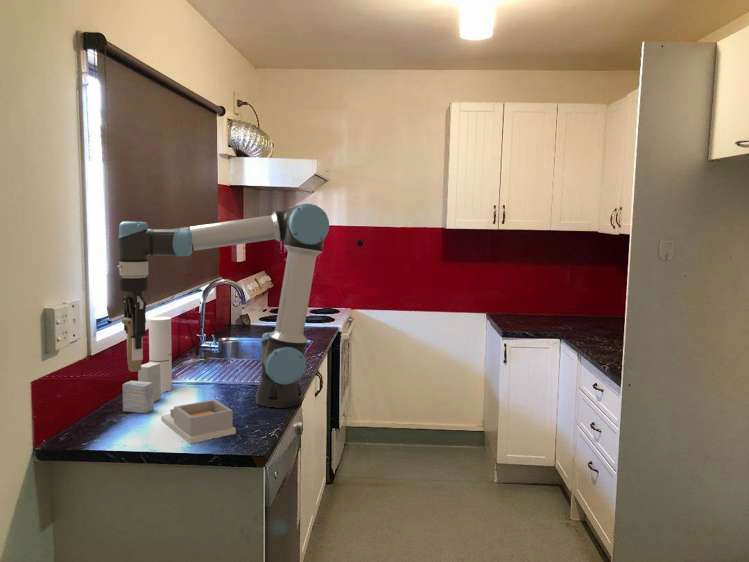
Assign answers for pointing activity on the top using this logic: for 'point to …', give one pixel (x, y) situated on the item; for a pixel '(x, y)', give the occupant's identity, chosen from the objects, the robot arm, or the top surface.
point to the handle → (132, 364)
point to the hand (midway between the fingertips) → (134, 358)
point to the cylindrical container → (161, 349)
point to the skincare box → (151, 377)
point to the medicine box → (138, 396)
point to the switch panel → (200, 421)
